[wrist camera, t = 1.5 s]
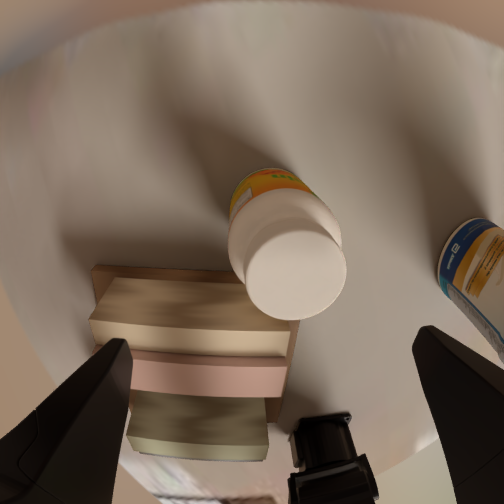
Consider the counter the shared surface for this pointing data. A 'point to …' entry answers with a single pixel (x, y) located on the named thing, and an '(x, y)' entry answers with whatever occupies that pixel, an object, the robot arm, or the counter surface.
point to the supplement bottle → (285, 245)
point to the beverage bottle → (476, 277)
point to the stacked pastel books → (195, 360)
